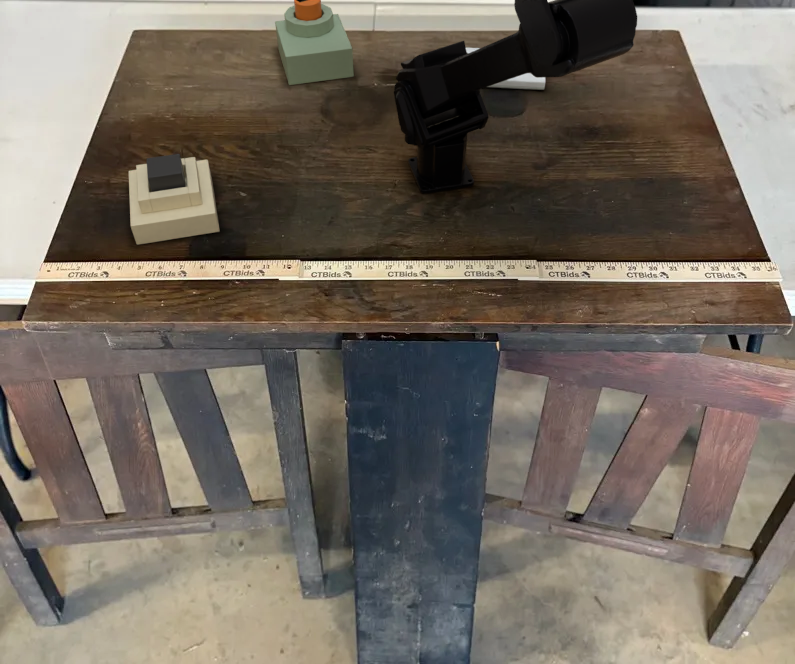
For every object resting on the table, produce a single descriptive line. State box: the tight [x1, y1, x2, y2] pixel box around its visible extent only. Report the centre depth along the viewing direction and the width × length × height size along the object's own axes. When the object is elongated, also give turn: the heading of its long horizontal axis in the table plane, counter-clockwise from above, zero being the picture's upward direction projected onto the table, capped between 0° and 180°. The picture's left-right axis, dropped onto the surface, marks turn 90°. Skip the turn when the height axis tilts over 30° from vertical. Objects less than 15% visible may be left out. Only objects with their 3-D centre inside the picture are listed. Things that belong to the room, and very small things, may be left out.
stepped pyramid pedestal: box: [128, 156, 221, 246], centre depth 89 cm, size 10×9×4 cm
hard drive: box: [465, 46, 546, 91], centre depth 110 cm, size 2×8×12 cm
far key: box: [293, 0, 322, 21], centre depth 109 cm, size 4×4×2 cm
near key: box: [146, 153, 185, 192], centre depth 87 cm, size 4×4×2 cm
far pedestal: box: [274, 3, 355, 86], centre depth 110 cm, size 11×9×6 cm
